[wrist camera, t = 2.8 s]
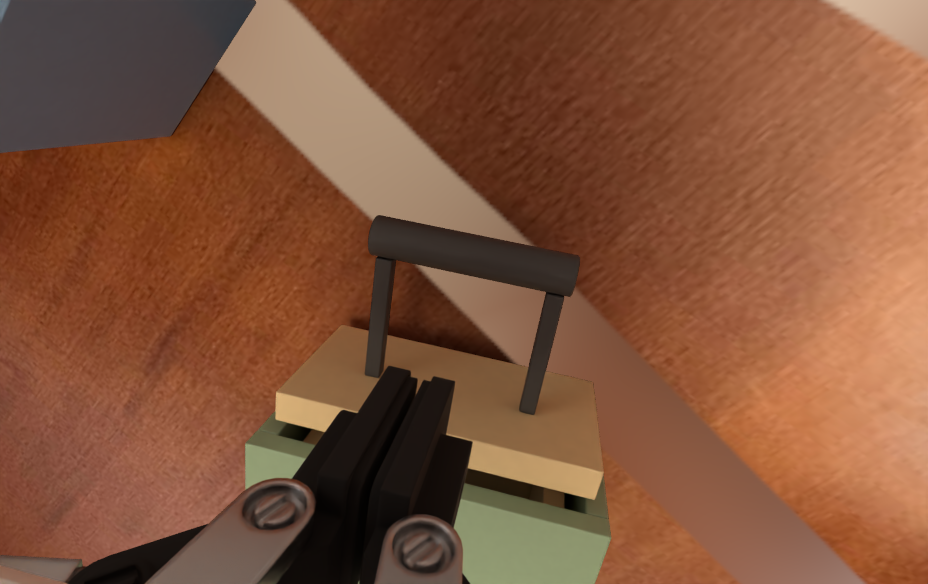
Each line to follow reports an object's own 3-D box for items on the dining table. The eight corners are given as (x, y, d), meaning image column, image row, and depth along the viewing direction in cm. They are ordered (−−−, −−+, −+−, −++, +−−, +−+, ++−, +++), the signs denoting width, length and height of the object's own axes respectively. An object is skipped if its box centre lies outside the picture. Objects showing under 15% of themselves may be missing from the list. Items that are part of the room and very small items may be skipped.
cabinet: (334, 345, 25) (244, 443, 18) (596, 405, 23) (611, 538, 16) (319, 561, 30) (246, 702, 23) (530, 621, 29) (520, 789, 22)
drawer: (351, 187, 21) (278, 218, 15) (634, 244, 20) (662, 298, 14) (324, 542, 28) (269, 646, 23) (529, 598, 27) (521, 722, 22)
